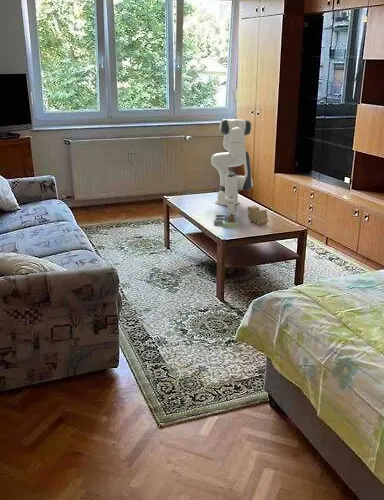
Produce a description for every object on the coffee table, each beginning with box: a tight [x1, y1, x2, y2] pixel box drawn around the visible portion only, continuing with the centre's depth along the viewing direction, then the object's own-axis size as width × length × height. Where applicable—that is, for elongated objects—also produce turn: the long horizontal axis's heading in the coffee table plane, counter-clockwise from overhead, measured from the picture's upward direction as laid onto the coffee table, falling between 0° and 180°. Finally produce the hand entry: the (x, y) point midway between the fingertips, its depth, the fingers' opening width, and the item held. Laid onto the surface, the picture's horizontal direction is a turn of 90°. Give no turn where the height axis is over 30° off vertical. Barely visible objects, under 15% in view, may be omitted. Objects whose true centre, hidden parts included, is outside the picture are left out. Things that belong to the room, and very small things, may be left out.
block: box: [226, 214, 236, 223], centre depth 351 cm, size 5×5×5 cm
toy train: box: [247, 205, 270, 226], centre depth 350 cm, size 6×17×10 cm, turn 28°
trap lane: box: [213, 212, 240, 229], centre depth 354 cm, size 25×16×3 cm, turn 176°
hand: (231, 216), depth 355 cm, fingers closed
